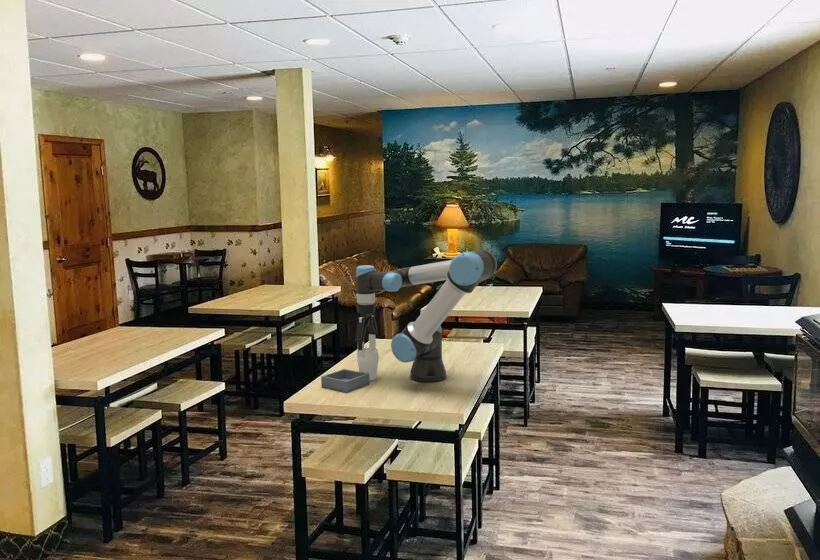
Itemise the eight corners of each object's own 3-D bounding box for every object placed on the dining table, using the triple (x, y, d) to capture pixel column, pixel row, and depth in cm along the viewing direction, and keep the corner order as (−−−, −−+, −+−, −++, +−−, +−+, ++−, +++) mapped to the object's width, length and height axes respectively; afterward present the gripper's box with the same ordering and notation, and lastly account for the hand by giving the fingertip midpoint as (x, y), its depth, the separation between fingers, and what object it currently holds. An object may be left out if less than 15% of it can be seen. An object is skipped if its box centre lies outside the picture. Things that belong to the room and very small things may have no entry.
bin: (369, 384, 273) (369, 373, 273) (346, 392, 263) (346, 381, 262) (344, 379, 282) (344, 368, 281) (321, 387, 271) (321, 376, 270)
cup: (376, 382, 277) (375, 353, 275) (354, 381, 278) (354, 352, 277) (381, 376, 285) (380, 348, 284) (360, 375, 287) (360, 347, 286)
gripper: (367, 297, 290) (368, 345, 293) (346, 308, 267) (347, 360, 270) (384, 298, 288) (385, 347, 291) (363, 309, 265) (364, 361, 268)
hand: (366, 353), depth 281 cm, fingers open, 13 cm apart
